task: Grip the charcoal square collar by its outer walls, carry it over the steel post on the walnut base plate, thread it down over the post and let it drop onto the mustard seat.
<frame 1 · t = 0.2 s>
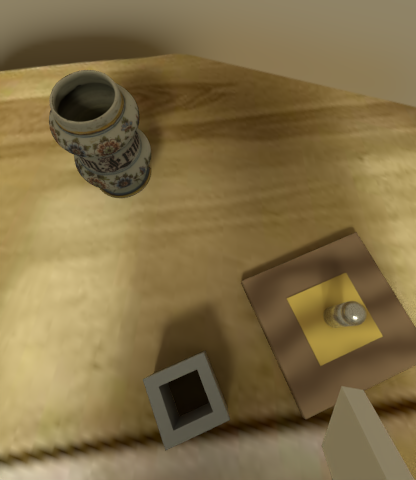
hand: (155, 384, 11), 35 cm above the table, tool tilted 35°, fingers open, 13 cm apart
apothecary jar: (123, 173, 54), on the table
base plate: (329, 317, 45), on the table
collar: (189, 389, 42), on the table
steel post: (333, 317, 44), resting on base plate
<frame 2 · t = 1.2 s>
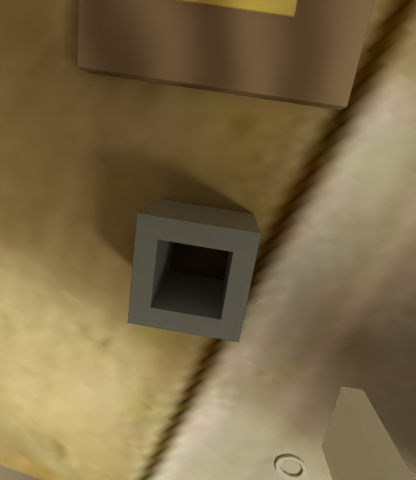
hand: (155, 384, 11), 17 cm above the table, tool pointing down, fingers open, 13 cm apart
collar: (200, 249, 27), on the table
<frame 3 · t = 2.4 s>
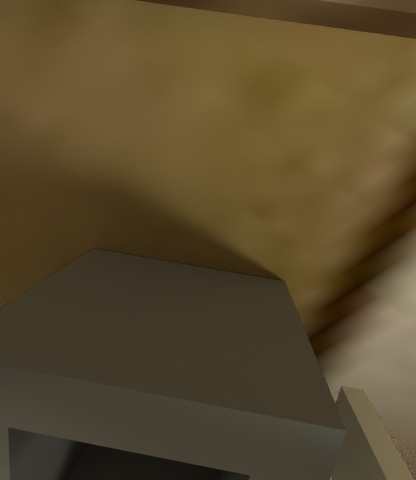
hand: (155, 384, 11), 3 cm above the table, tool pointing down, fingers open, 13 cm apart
collar: (176, 347, 13), on the table
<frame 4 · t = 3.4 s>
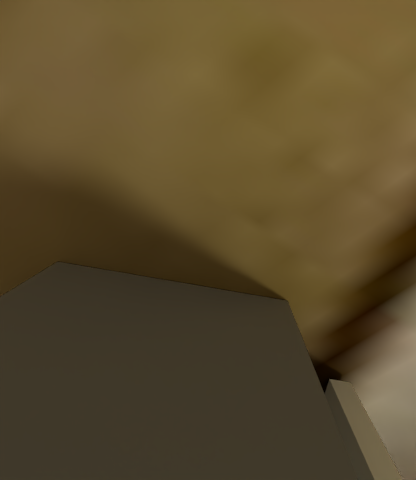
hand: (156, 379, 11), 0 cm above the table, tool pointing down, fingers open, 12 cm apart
collar: (159, 377, 11), on the table
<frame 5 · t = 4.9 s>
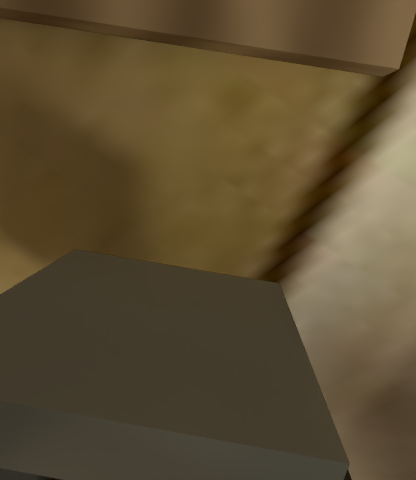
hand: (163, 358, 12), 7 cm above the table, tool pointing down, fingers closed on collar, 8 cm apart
collar: (164, 354, 13), point 7 cm above the table, touching gripper
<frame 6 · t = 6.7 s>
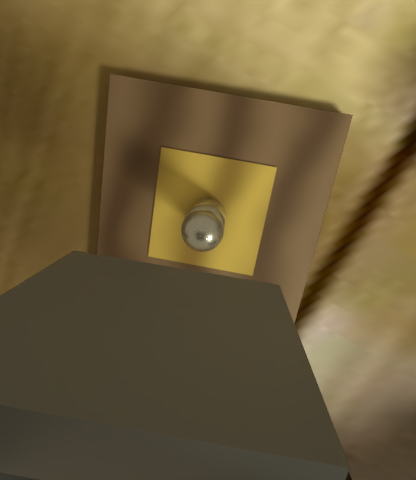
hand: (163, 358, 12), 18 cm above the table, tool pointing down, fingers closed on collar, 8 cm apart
base plate: (210, 211, 29), on the table
collar: (164, 355, 13), point 17 cm above the table, touching gripper
steel post: (209, 213, 27), resting on base plate
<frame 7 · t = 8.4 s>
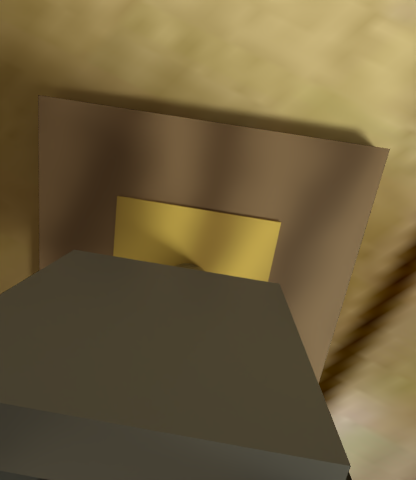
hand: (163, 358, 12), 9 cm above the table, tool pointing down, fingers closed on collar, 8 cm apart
base plate: (191, 274, 21), on the table
collar: (164, 354, 13), point 9 cm above the table, touching gripper
when the fingers open (3 cm above the table, at t = 10.6 s): collar stays where it is, resting on base plate.
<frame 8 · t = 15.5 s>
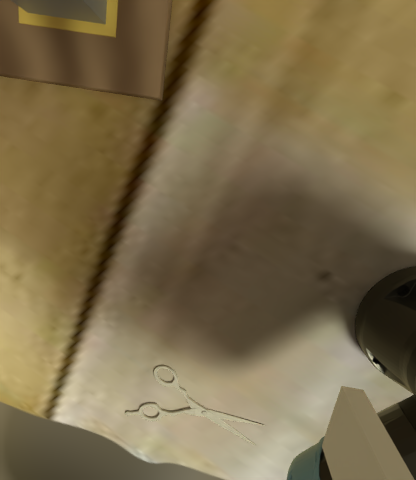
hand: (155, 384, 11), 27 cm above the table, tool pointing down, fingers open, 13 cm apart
scissors: (200, 407, 45), on the table
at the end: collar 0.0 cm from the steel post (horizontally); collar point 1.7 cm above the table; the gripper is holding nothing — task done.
